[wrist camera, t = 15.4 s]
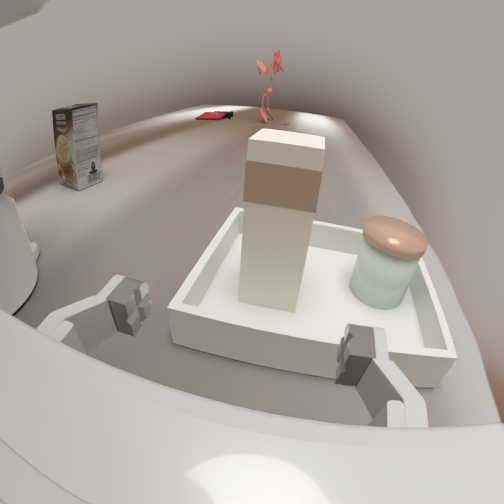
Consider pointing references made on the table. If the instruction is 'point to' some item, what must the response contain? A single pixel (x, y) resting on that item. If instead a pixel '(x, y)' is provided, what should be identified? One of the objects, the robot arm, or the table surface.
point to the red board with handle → (215, 115)
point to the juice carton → (278, 215)
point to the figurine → (276, 69)
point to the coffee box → (77, 145)
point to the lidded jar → (386, 261)
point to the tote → (307, 311)
